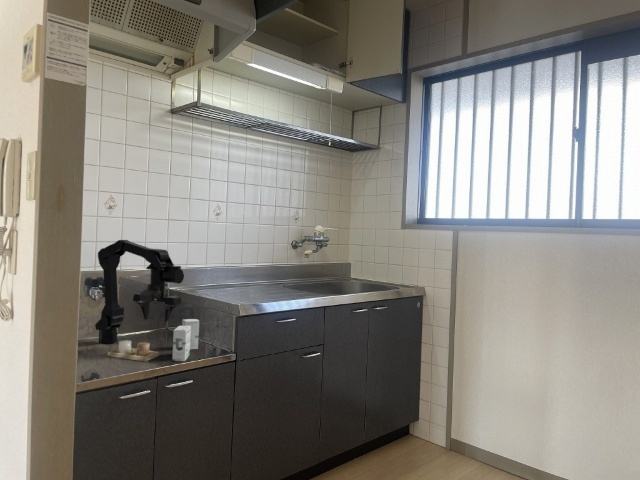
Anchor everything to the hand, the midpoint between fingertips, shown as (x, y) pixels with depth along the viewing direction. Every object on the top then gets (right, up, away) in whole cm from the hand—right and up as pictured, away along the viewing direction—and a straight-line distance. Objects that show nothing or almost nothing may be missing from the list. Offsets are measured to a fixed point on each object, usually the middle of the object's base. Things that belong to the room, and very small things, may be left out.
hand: (156, 320), depth 195 cm
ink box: (+12, -14, -7) cm, 19 cm away
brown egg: (-2, -12, -10) cm, 16 cm away
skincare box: (+11, -13, +7) cm, 19 cm away
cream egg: (-9, -12, -8) cm, 17 cm away
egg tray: (-5, -12, -9) cm, 16 cm away
